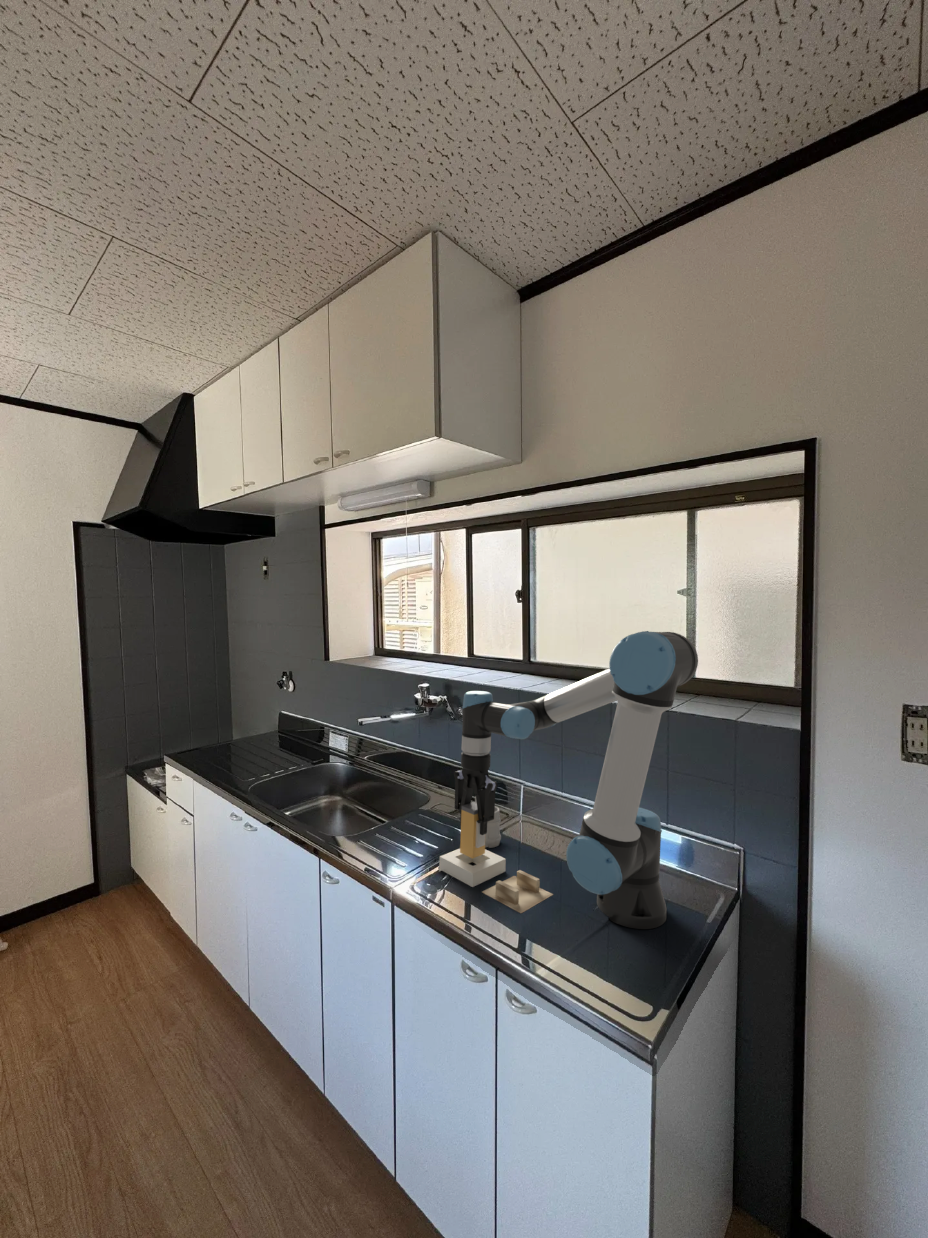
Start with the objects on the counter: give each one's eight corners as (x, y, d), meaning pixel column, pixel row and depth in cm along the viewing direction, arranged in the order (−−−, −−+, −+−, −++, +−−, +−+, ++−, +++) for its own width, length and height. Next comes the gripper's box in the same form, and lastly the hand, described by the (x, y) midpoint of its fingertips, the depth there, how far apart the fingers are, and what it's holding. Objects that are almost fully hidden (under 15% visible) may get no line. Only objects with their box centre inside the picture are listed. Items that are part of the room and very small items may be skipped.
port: (505, 874, 135) (505, 858, 135) (472, 890, 127) (472, 873, 127) (471, 858, 144) (472, 843, 144) (439, 872, 136) (439, 856, 136)
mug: (484, 850, 149) (486, 808, 149) (461, 835, 159) (463, 795, 159) (506, 844, 153) (507, 803, 153) (482, 830, 163) (483, 791, 163)
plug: (484, 853, 136) (486, 806, 135) (472, 858, 132) (474, 811, 132) (472, 847, 139) (473, 802, 139) (460, 852, 136) (461, 805, 135)
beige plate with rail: (553, 898, 125) (553, 881, 125) (520, 917, 116) (521, 899, 116) (514, 878, 133) (514, 863, 133) (481, 895, 125) (482, 879, 125)
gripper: (511, 757, 132) (508, 850, 132) (462, 743, 144) (459, 828, 144) (491, 762, 126) (487, 859, 127) (442, 747, 139) (439, 835, 139)
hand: (472, 842), depth 136 cm, fingers closed on plug, 4 cm apart
